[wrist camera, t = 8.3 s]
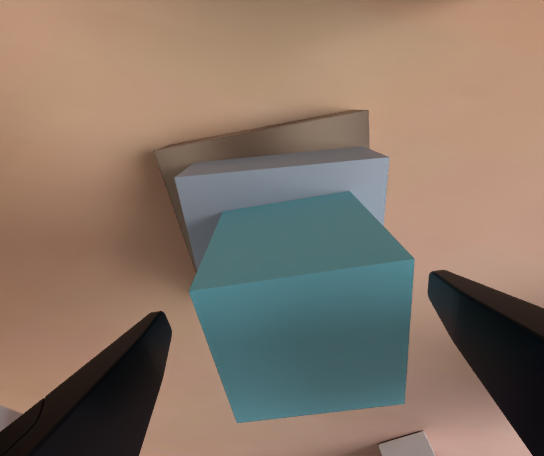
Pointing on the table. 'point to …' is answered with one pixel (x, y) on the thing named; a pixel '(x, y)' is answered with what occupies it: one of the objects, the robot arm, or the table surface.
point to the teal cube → (306, 308)
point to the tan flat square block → (262, 147)
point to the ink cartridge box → (408, 446)
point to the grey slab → (276, 185)
